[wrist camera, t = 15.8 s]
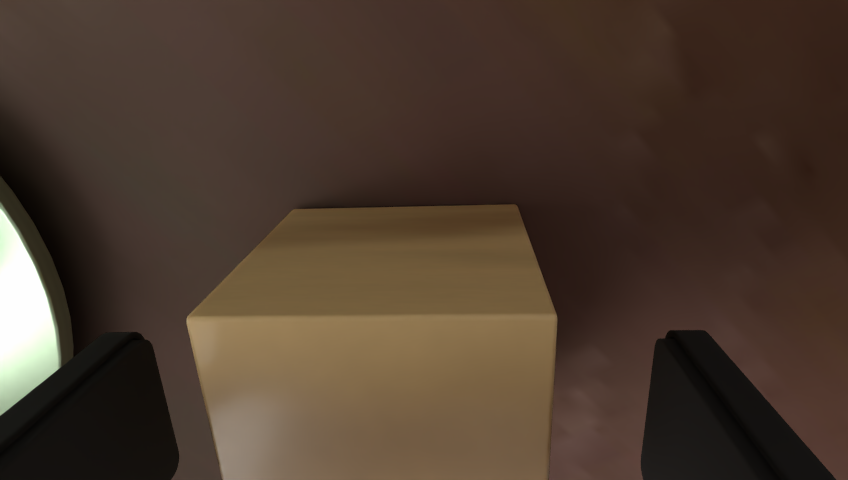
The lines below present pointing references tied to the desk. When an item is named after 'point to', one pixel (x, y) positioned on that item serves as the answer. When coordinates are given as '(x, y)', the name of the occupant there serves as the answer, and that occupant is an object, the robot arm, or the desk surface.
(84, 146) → the desk surface
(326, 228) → the block
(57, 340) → the lid
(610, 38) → the desk surface
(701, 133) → the desk surface
